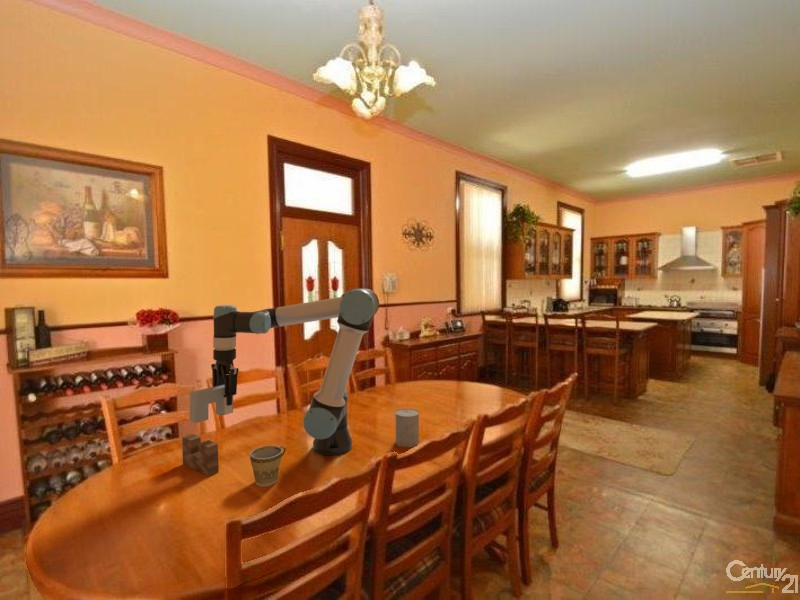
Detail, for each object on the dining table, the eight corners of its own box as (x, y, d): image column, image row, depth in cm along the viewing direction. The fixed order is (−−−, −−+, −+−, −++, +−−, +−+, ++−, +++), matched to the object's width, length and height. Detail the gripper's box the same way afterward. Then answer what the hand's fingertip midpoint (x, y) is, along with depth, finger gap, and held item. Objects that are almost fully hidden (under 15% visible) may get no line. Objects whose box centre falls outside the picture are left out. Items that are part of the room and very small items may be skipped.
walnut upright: (218, 472, 137) (217, 443, 136) (209, 476, 134) (208, 447, 133) (192, 460, 145) (191, 433, 145) (182, 464, 142) (182, 436, 142)
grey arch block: (233, 412, 146) (233, 385, 145) (195, 423, 134) (195, 394, 134) (227, 410, 148) (227, 383, 147) (189, 420, 136) (189, 392, 136)
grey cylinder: (422, 440, 164) (422, 410, 163) (413, 449, 155) (413, 418, 155) (401, 436, 168) (401, 407, 167) (391, 444, 159) (391, 414, 159)
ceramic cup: (264, 493, 123) (263, 461, 123) (243, 484, 129) (243, 453, 128) (296, 475, 134) (295, 446, 134) (275, 467, 140) (275, 440, 139)
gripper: (248, 350, 142) (247, 414, 143) (221, 344, 151) (220, 405, 153) (228, 352, 136) (228, 420, 137) (202, 346, 145) (201, 410, 146)
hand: (224, 412), depth 145 cm, fingers closed on grey arch block, 3 cm apart
